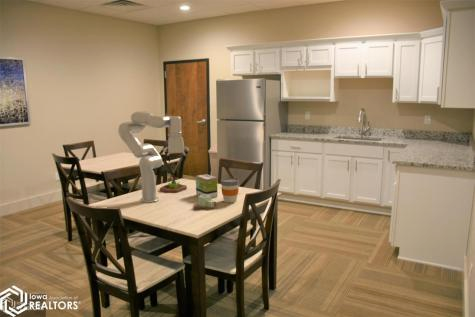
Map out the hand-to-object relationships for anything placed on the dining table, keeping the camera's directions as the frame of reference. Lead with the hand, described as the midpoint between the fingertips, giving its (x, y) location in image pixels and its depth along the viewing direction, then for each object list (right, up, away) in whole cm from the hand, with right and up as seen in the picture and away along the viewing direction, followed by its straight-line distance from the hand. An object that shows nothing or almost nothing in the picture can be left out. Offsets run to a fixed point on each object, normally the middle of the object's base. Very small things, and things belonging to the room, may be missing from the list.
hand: (176, 161), depth 249 cm
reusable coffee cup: (+35, -28, +15) cm, 47 cm away
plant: (-11, -23, +49) cm, 55 cm away
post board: (+18, -30, +3) cm, 35 cm away
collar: (+20, -29, 0) cm, 35 cm away
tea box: (+17, -26, +29) cm, 43 cm away
